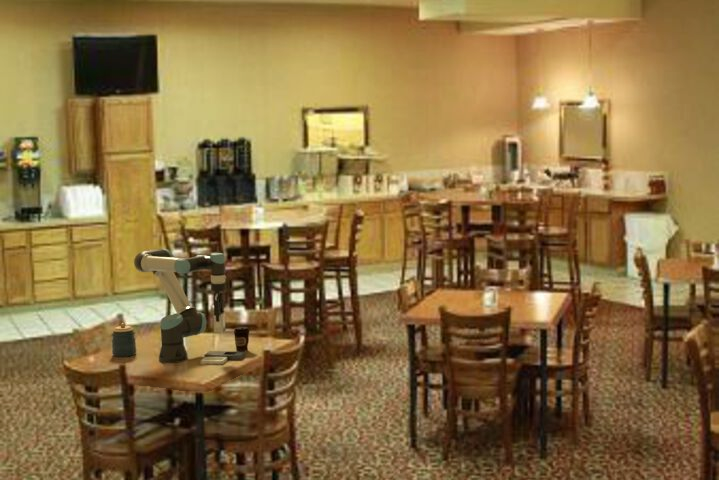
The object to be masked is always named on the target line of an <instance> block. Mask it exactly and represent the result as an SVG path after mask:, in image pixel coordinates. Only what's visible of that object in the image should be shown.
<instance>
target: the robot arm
mask: <svg viewBox="0 0 719 480" xmlns="http://www.w3.org/2000/svg"><path fill="white" fill-rule="evenodd" d="M133 264H134V268H135V269H136V270H137V271H138V272H141V273H151V272H152V274H153V275H154V277H155V278H158V279H159V282H160V283H161V285H162V288H163V289H164V291H165V292H166V295H167V297H168V298H169V300H170V303H171V304H172V306H173V308H174V310H175V312H176V313H174V314H169V315H168V314H167V315H165V316H164V317H162V318H161V320H160V338H161V346H160V351H159V354H158V361H159V362H162V363H179V362H185V361H186V360H188V358H189V355H188V352H187V351H188V350H187V349H186V347H185V341H184V339H185V338H188V337H193V336H198V335H200V334H202V333H203V332H204V331H205V330H206V327H207V318H206V315H205V314H204V313H203V312H201V311H197V309H196V307H195V306H192V305H191V303H190V300H189V298H188V297H187V295H186V294H185V291H184V288H182V285H181V283H180V281H179V280H178V278H177V276H176V274H175V273H177V274H180V275H181V274H188V273H194V272H201V271H210V282H211V283H210V289H211V291H212V292H214V294H213V315H215V328H221V315H220V312H225V308H224V307H225V306H224V305H225V303H224V301H225V300H224V294H225V293H224V291H225V290H226V288H227V287H226V279H227V276H226V257H225V254H224V253H222V252H213V253H210V255H205V254H197V255H196V256H193V257H185V258H184V257H174V255H173V253H172V252H171V251H170V250H169V249H167V248H156V249H151V250H143V251H141V252H139V253H137V254H136V256H135V257H134V258H133Z"/></svg>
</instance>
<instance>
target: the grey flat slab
mask: <svg viewBox="0 0 719 480" xmlns="http://www.w3.org/2000/svg"><path fill="white" fill-rule="evenodd" d="M203 356H204V357H203V358H205V357H227V359H228V360H227V361H242V360H243V359H244V358H245V357H246V352H244V351H235V350H234V351H232V350H231V351H228V350H226V351H224V350H223V351H222V350H218V351H217V350H209V351H207V352H206V353H204V354H203Z"/></svg>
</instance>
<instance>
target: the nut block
mask: <svg viewBox="0 0 719 480" xmlns="http://www.w3.org/2000/svg"><path fill="white" fill-rule="evenodd" d="M220 315H221V328H215V315H213V333H215V334H216V333H220V334H221V333H225V332H226V312H225V311H224V312H220Z"/></svg>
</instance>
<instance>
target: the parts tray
mask: <svg viewBox="0 0 719 480" xmlns="http://www.w3.org/2000/svg"><path fill="white" fill-rule="evenodd" d="M228 361H229V360H228V359H227V357H205V358H204V357H202V358H201V359H200V361H199V363H200V364H199V365H224V364H225V363H226V362H228Z"/></svg>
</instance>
